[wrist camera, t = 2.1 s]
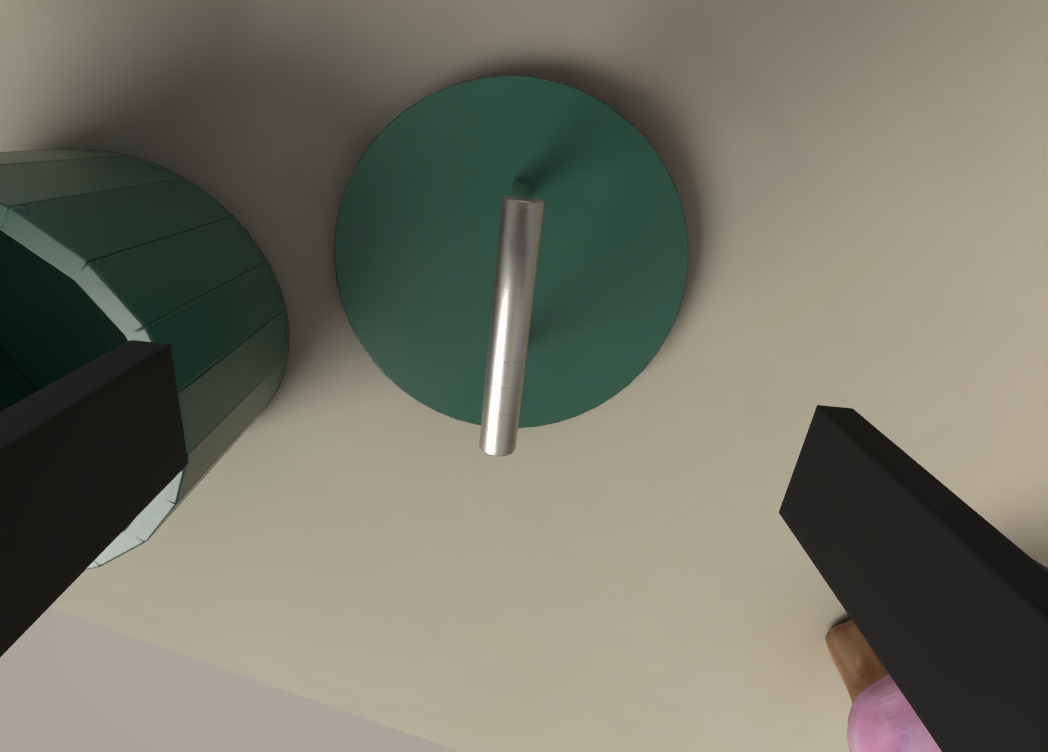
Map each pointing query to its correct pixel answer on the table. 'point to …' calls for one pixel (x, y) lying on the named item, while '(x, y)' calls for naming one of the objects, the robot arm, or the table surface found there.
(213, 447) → the lunch tin
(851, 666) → the cupcake
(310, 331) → the table surface
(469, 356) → the tin lid
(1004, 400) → the table surface
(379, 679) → the table surface
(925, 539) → the robot arm
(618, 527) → the table surface
